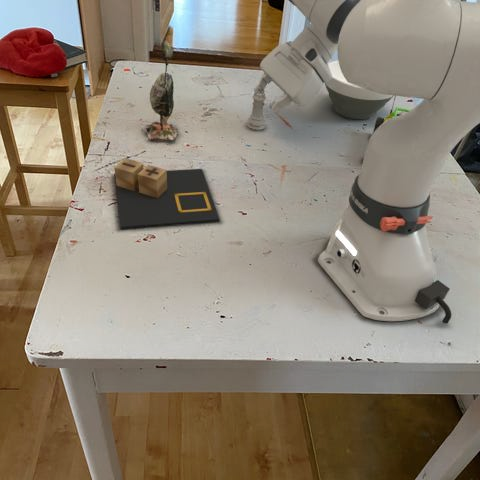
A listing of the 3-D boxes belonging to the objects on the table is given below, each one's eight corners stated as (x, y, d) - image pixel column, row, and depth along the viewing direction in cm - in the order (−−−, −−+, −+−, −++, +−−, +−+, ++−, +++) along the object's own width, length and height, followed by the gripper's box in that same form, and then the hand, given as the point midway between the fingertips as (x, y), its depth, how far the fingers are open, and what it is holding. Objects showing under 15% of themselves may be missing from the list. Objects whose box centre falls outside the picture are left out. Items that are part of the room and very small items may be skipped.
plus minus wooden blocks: (157, 198, 90) (156, 179, 87) (116, 185, 92) (113, 166, 89) (167, 188, 93) (166, 169, 90) (127, 176, 95) (125, 157, 92)
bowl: (308, 95, 131) (315, 58, 124) (373, 95, 134) (383, 59, 127) (330, 128, 118) (339, 89, 111) (402, 127, 121) (415, 89, 114)
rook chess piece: (243, 125, 115) (246, 91, 110) (257, 121, 117) (261, 87, 112) (254, 132, 113) (258, 98, 107) (268, 128, 115) (273, 95, 109)
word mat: (219, 221, 88) (219, 218, 87) (120, 229, 84) (120, 226, 83) (201, 171, 99) (201, 168, 99) (114, 176, 96) (113, 172, 95)
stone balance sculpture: (184, 123, 113) (183, 30, 99) (174, 145, 106) (171, 48, 91) (151, 119, 114) (145, 25, 99) (138, 141, 106) (130, 42, 91)
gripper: (281, 28, 111) (240, 75, 115) (322, 60, 99) (273, 111, 103) (295, 48, 116) (254, 92, 120) (335, 81, 103) (289, 129, 108)
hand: (264, 101), depth 111 cm, fingers open, 8 cm apart
